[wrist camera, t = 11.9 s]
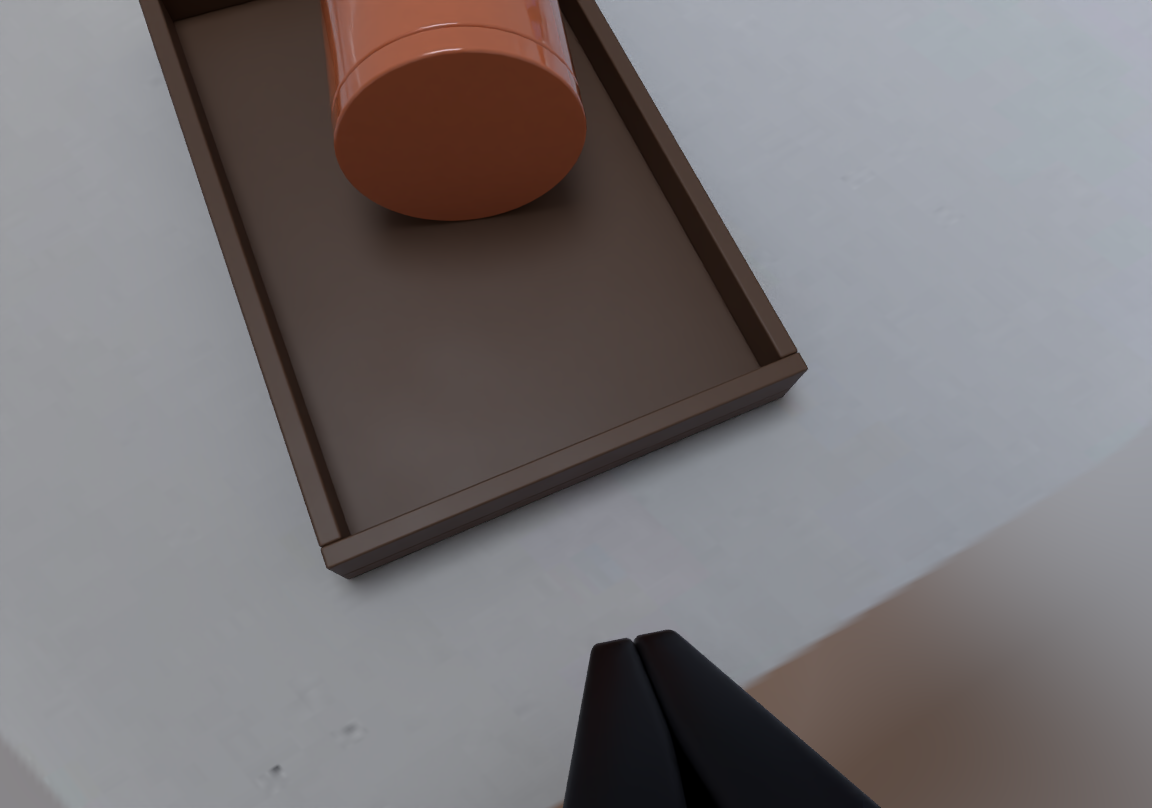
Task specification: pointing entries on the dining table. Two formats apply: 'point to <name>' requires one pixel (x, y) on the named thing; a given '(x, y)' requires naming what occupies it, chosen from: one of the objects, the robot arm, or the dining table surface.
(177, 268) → the dining table surface
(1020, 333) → the dining table surface
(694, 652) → the robot arm
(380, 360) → the walnut tray
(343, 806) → the dining table surface
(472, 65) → the orange canister
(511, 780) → the dining table surface
